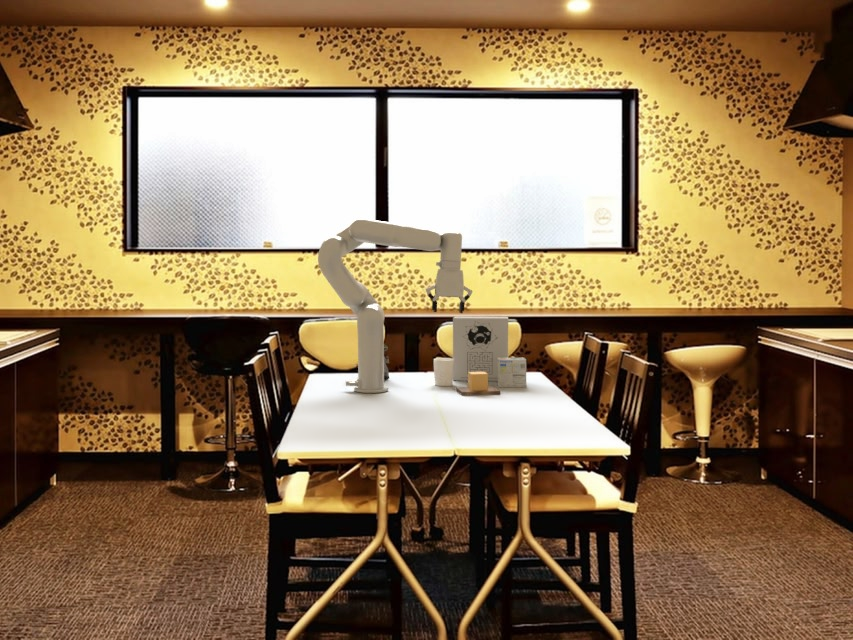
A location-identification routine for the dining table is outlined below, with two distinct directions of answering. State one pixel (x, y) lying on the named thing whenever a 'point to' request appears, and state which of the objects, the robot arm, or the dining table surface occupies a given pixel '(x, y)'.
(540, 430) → the dining table surface
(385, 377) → the figurine
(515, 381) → the light bulb box
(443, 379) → the white cup
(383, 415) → the dining table surface
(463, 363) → the cereal box
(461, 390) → the walnut board
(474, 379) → the ochre cube
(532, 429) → the dining table surface
